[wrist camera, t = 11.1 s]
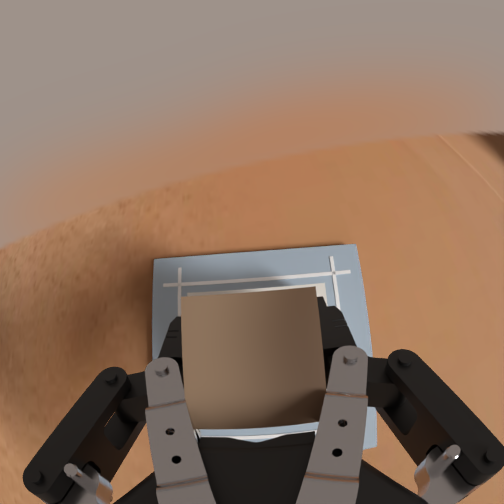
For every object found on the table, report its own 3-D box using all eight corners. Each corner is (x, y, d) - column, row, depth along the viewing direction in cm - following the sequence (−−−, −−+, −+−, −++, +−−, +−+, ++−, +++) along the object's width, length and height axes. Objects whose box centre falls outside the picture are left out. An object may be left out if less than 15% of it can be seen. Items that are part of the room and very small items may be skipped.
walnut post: (229, 393, 16) (187, 429, 7) (225, 331, 18) (180, 296, 9) (294, 388, 16) (328, 420, 7) (289, 326, 18) (315, 286, 8)
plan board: (164, 456, 20) (131, 483, 13) (158, 263, 26) (126, 230, 20) (372, 443, 19) (407, 466, 13) (352, 248, 26) (377, 211, 19)
